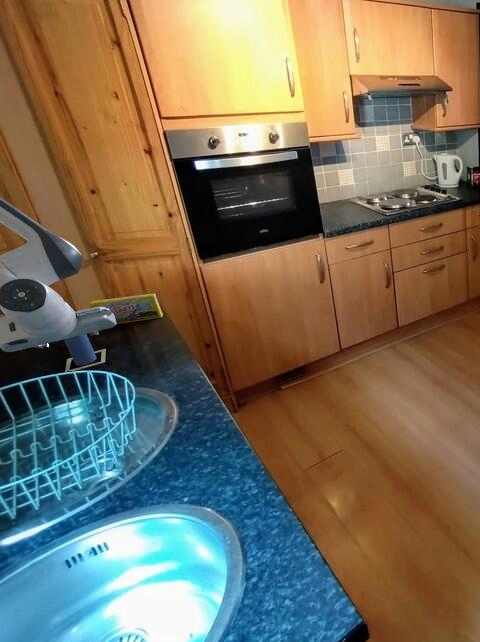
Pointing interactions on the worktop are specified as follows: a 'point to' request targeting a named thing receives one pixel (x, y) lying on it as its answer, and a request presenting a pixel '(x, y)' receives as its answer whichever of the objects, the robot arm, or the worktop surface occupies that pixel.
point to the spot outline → (87, 365)
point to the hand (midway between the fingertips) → (70, 338)
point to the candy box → (132, 308)
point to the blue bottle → (80, 350)
